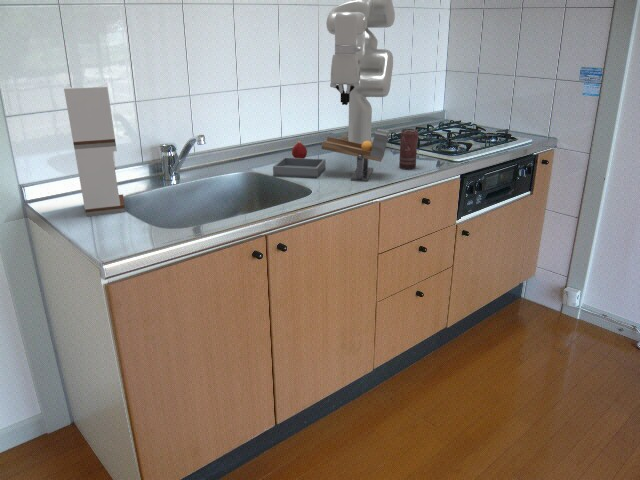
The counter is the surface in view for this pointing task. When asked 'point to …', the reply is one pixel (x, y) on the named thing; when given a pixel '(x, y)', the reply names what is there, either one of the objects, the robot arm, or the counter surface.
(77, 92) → the grey pillar
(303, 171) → the tray
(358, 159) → the chute stand
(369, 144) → the ball
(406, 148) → the can
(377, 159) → the chute
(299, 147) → the onion
